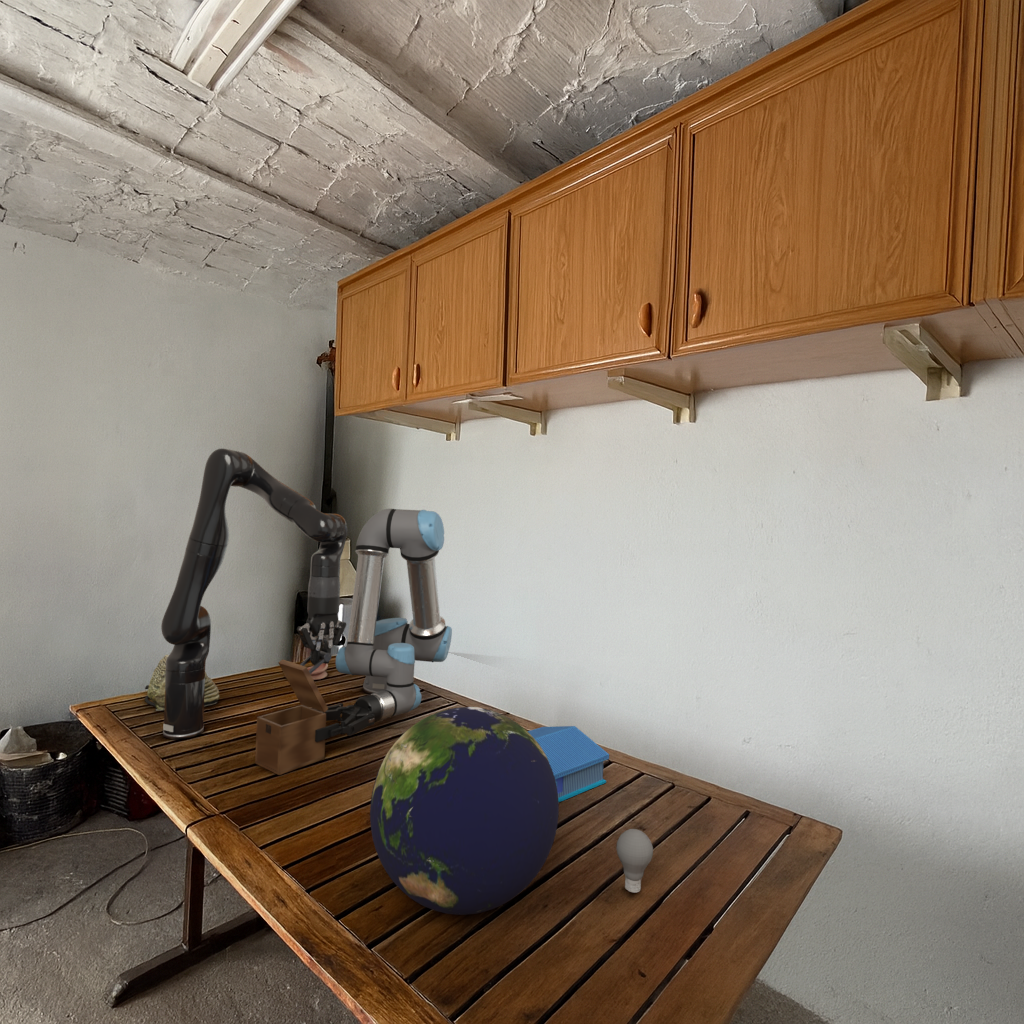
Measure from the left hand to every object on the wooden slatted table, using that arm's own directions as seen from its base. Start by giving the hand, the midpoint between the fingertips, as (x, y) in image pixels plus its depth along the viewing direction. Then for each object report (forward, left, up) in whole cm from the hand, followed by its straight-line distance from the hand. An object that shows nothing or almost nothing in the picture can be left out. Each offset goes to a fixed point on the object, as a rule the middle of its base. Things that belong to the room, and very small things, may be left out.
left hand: (320, 663), depth 156 cm
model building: (+47, +24, -22) cm, 57 cm away
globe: (+68, -9, -22) cm, 71 cm away
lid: (+1, -5, -5) cm, 7 cm away
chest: (+1, -8, -22) cm, 23 cm away
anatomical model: (-61, +26, -22) cm, 70 cm away
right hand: (+1, -4, -15) cm, 16 cm away
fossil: (-53, -15, -22) cm, 60 cm away
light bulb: (+84, +15, -22) cm, 88 cm away
